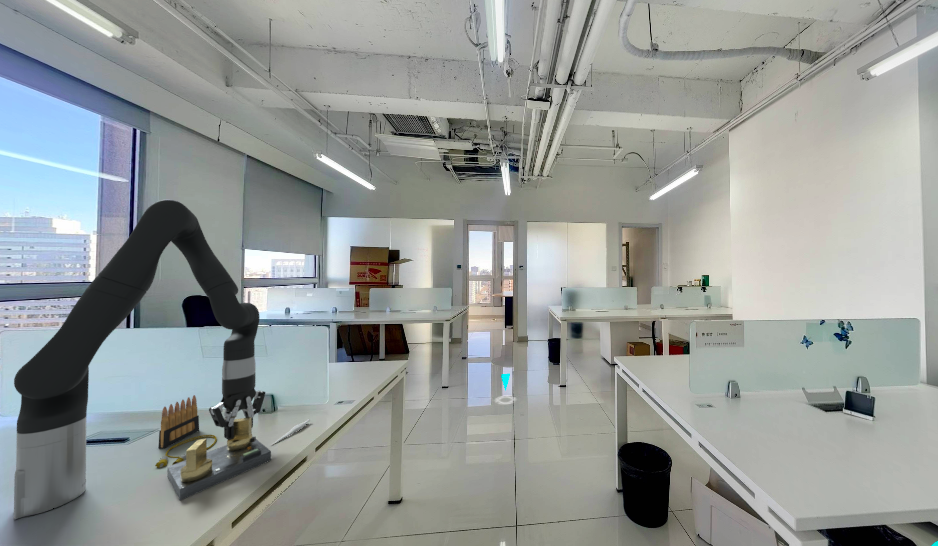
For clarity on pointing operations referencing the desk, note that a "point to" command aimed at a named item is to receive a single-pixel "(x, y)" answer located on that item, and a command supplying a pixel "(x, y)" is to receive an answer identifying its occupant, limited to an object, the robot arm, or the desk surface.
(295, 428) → the stylus pen
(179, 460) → the extension cord
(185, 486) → the base
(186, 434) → the ammunition clip
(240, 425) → the knob outer
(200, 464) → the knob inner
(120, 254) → the robot arm
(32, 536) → the desk surface
